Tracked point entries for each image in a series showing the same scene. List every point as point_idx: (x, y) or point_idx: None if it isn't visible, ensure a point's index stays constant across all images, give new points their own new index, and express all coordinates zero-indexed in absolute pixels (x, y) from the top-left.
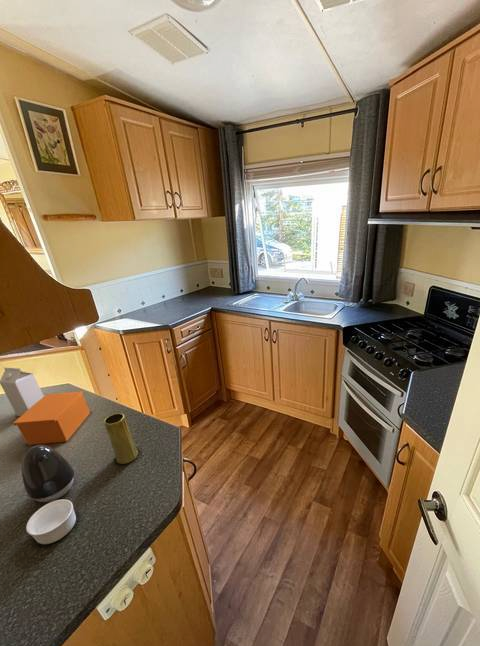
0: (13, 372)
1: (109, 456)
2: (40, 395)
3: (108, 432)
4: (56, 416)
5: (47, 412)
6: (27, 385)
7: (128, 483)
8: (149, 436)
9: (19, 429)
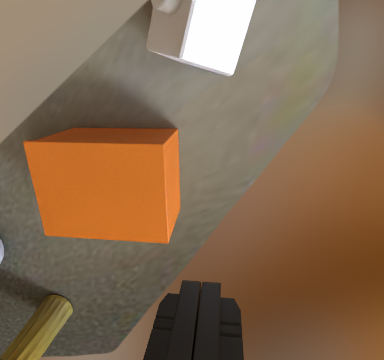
0: (186, 9)
1: (57, 283)
2: (221, 73)
3: (3, 353)
4: (56, 234)
5: (70, 204)
6: (191, 63)
7: (16, 316)
8: (102, 324)
9: (47, 136)
